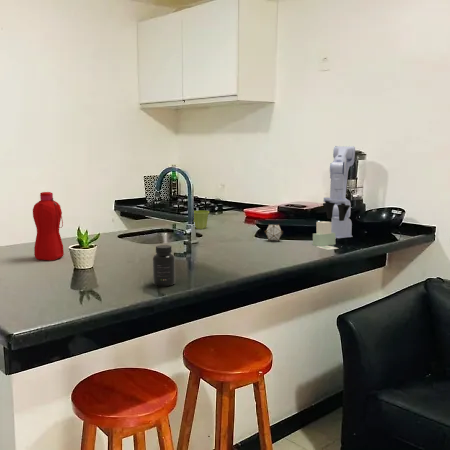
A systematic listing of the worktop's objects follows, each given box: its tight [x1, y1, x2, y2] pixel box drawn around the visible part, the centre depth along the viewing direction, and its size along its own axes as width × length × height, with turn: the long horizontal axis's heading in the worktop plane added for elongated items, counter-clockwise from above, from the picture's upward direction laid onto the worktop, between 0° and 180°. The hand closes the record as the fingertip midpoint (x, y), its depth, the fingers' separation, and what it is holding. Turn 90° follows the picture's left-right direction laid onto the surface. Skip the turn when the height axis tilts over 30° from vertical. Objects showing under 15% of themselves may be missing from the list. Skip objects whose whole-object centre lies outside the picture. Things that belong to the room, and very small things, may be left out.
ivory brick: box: [315, 221, 331, 234], centre depth 221 cm, size 4×4×5 cm
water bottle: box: [32, 191, 65, 261], centre depth 190 cm, size 9×11×25 cm
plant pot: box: [193, 210, 210, 230], centre depth 263 cm, size 9×9×9 cm
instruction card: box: [314, 245, 339, 251], centre depth 217 cm, size 6×8×1 cm
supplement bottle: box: [152, 244, 176, 287], centre depth 158 cm, size 7×7×12 cm
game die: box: [264, 222, 284, 242], centre depth 230 cm, size 9×8×10 cm
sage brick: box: [312, 232, 336, 246], centre depth 222 cm, size 9×4×5 cm, turn 121°
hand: (335, 219), depth 227 cm, fingers open, 7 cm apart
